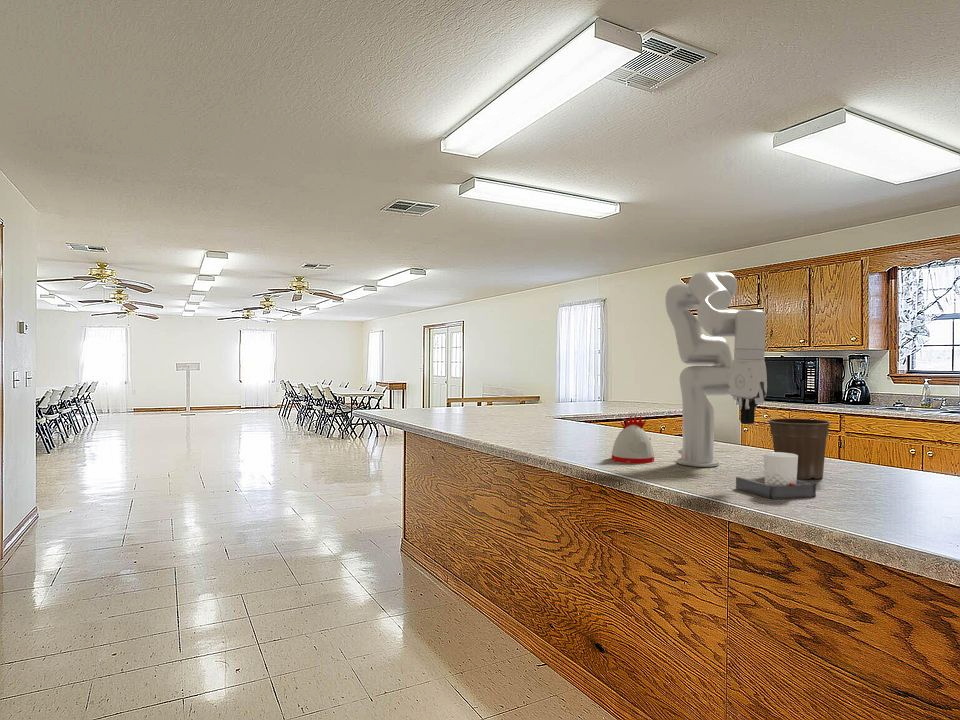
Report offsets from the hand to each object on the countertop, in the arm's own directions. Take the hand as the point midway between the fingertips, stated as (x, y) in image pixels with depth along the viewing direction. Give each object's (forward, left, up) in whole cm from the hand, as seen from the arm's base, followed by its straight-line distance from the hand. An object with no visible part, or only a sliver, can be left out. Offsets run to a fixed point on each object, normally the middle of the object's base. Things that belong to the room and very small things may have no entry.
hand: (747, 423), depth 168 cm
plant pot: (-6, +23, -17) cm, 29 cm away
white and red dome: (-44, -9, -17) cm, 48 cm away
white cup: (+12, 0, -17) cm, 21 cm away
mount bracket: (+10, 0, -17) cm, 20 cm away
